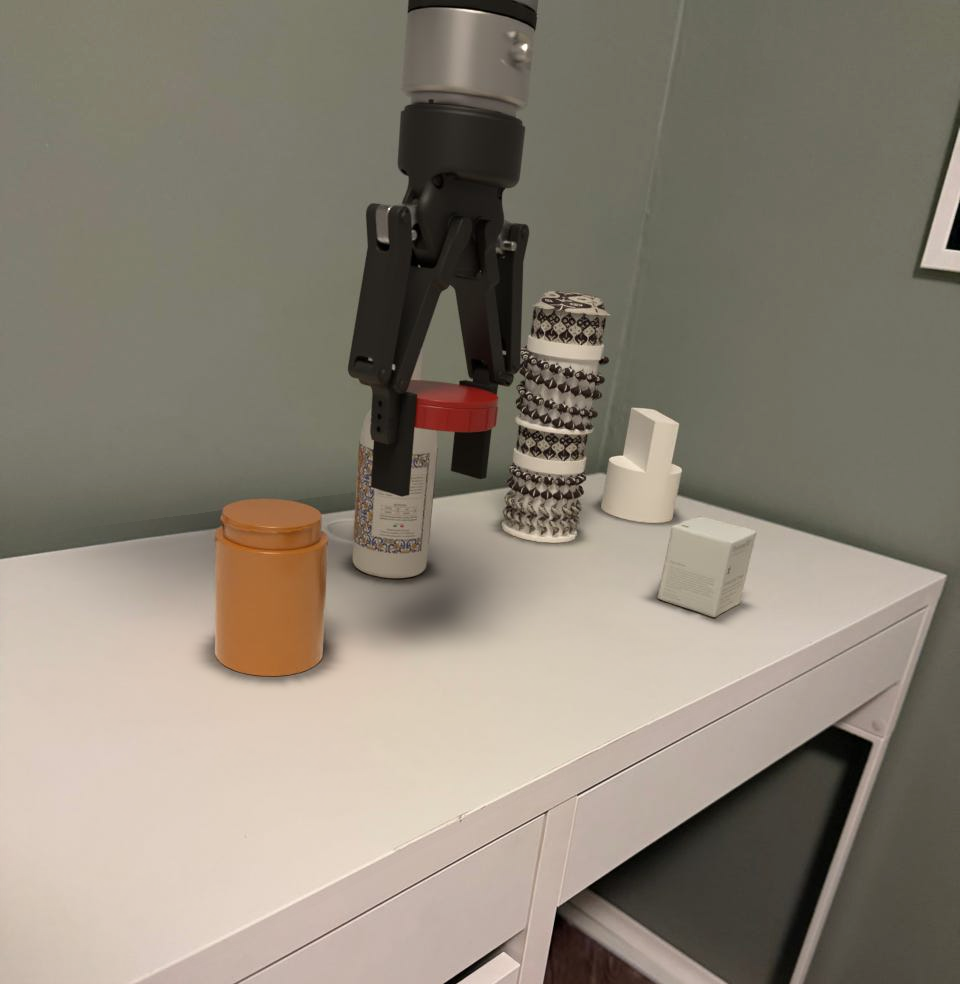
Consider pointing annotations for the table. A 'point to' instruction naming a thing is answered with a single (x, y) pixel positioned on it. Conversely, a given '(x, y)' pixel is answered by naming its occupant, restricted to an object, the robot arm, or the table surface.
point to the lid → (453, 407)
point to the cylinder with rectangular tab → (644, 470)
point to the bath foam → (395, 509)
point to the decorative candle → (555, 416)
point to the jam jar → (270, 587)
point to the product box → (706, 565)
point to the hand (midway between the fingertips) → (431, 482)
